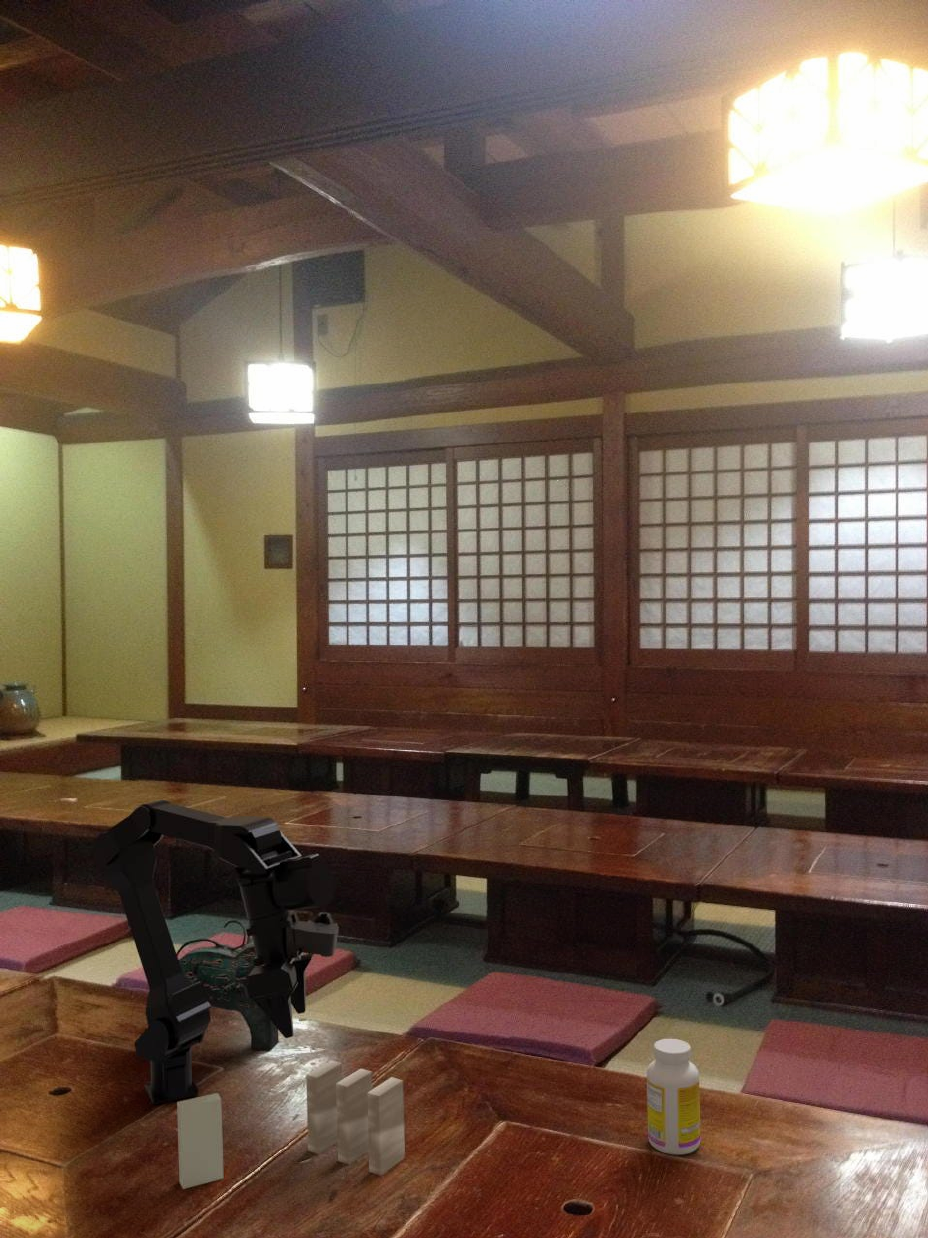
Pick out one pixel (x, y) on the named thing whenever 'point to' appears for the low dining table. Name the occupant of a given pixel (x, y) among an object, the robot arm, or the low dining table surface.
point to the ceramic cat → (230, 983)
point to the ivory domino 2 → (353, 1115)
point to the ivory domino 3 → (386, 1126)
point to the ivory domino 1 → (322, 1106)
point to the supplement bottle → (673, 1099)
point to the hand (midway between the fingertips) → (295, 1024)
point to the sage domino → (200, 1140)
